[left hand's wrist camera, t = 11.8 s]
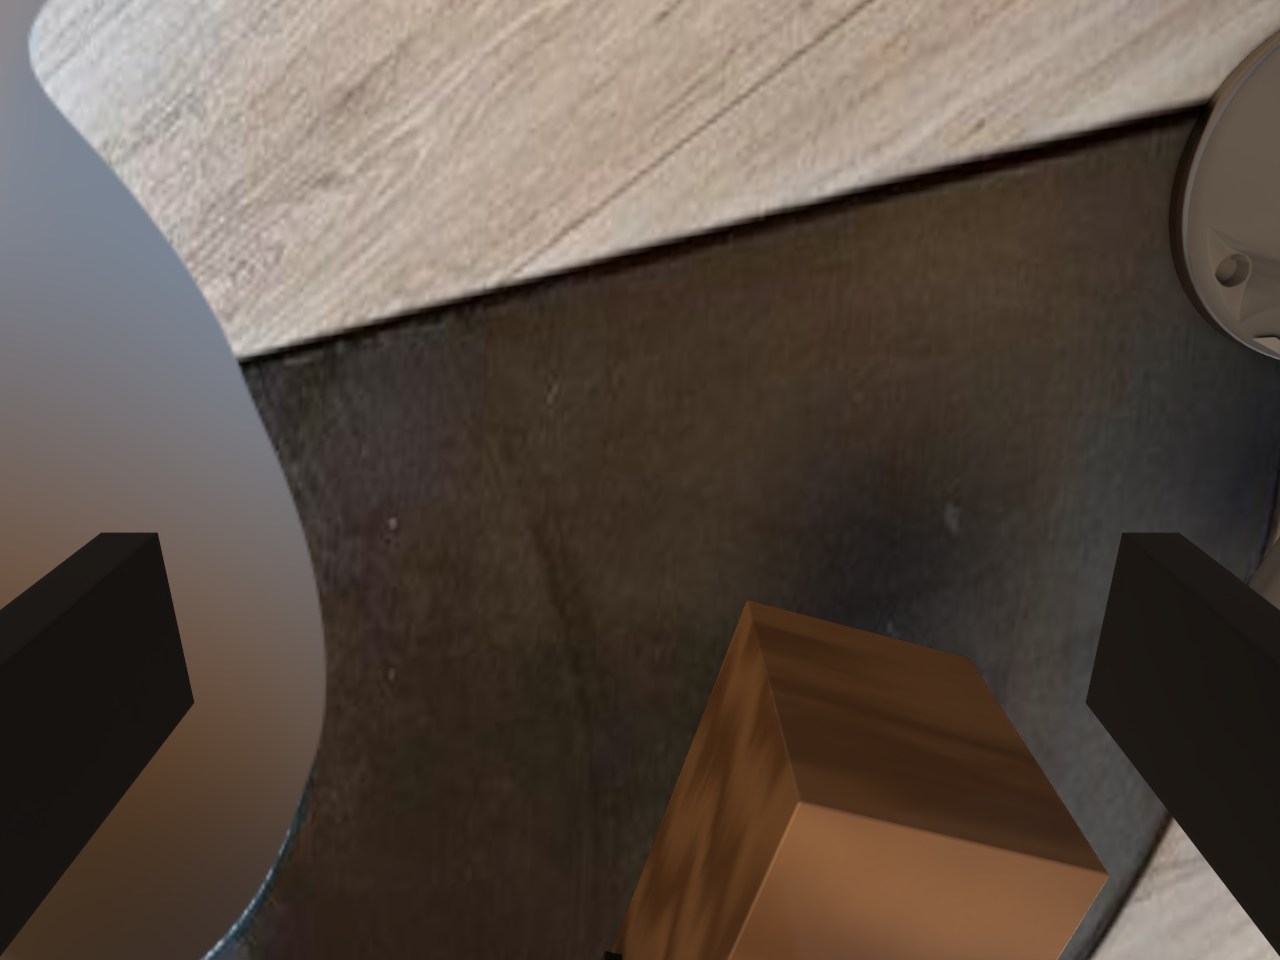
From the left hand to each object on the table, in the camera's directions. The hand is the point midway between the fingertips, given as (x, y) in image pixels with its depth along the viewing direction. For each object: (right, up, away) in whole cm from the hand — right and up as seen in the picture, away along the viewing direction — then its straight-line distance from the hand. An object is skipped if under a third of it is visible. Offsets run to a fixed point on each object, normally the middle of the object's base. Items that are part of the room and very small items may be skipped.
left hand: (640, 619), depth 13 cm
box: (+5, -13, +24) cm, 28 cm away
